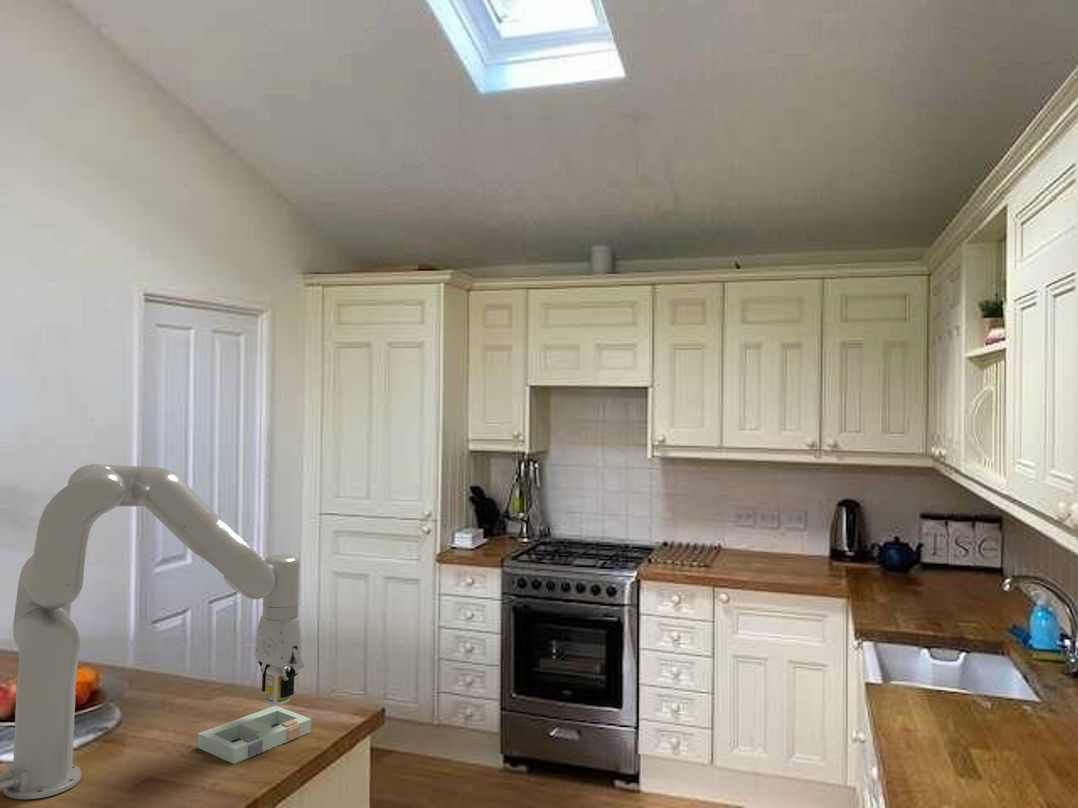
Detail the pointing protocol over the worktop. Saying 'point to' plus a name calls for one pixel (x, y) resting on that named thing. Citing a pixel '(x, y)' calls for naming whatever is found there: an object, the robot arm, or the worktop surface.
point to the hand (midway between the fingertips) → (277, 692)
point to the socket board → (253, 734)
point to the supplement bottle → (274, 686)
